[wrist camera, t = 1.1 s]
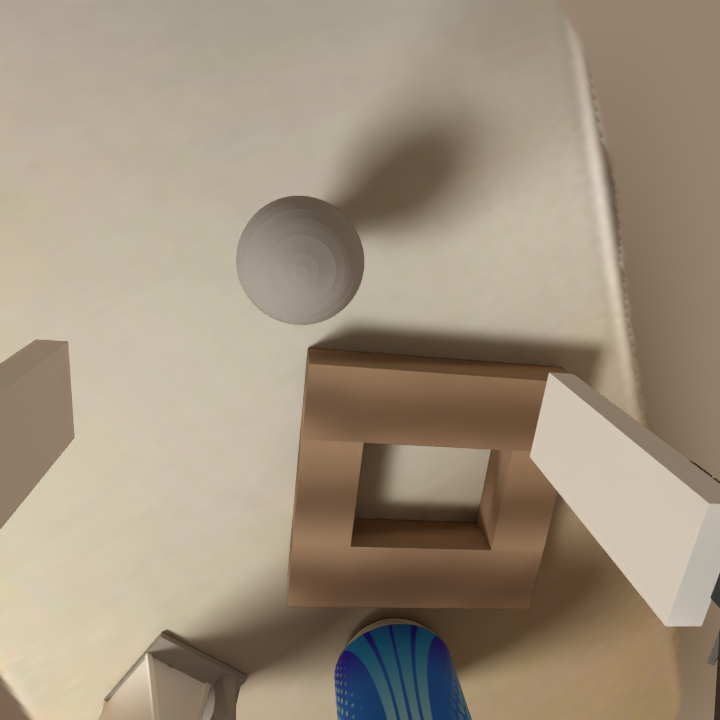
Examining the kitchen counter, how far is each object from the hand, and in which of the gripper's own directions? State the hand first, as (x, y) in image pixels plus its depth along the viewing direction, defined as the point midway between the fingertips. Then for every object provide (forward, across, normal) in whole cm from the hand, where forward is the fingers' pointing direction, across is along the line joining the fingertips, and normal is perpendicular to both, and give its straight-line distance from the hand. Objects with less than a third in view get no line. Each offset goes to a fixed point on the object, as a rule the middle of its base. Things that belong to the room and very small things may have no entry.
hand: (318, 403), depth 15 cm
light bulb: (+18, -1, +2) cm, 18 cm away
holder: (+17, +8, -12) cm, 22 cm away
